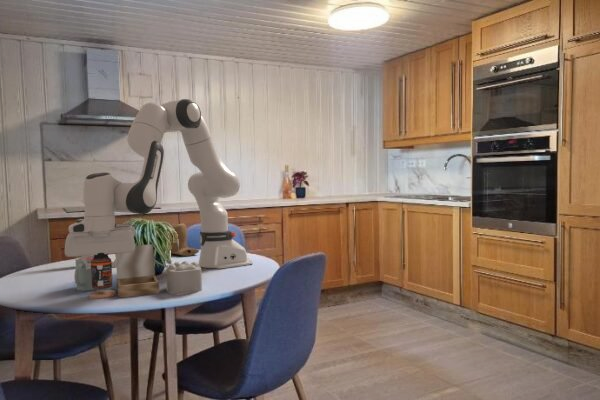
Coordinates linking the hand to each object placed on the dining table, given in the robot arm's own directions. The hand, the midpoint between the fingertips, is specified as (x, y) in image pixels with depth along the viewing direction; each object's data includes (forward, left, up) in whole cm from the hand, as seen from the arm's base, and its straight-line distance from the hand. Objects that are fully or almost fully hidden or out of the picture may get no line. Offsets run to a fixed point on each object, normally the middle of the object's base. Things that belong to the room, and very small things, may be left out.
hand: (101, 268), depth 145 cm
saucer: (0, 0, -8) cm, 9 cm away
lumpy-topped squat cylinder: (-25, +3, -9) cm, 26 cm away
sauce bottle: (+6, -56, -9) cm, 57 cm away
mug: (+4, -12, -9) cm, 15 cm away
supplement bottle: (0, 0, -6) cm, 6 cm away
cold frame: (-11, -3, -8) cm, 14 cm away
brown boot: (-35, -66, -9) cm, 75 cm away
